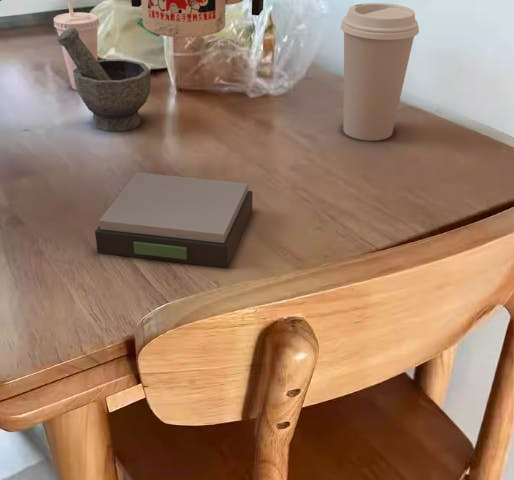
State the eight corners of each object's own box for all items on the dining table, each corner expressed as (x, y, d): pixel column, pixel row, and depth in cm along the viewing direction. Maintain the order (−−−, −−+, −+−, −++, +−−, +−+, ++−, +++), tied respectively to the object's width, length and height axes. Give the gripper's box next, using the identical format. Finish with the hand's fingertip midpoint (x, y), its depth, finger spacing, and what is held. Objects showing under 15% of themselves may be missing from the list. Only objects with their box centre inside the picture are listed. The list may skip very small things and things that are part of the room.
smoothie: (63, 80, 112) (49, -21, 103) (105, 78, 113) (95, -22, 104) (62, 94, 107) (47, -11, 98) (106, 92, 108) (95, -11, 99)
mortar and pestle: (154, 109, 102) (148, 18, 95) (152, 135, 95) (146, 38, 88) (73, 110, 102) (60, 18, 94) (65, 136, 94) (50, 38, 87)
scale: (96, 254, 71) (92, 223, 69) (136, 199, 80) (134, 170, 78) (226, 270, 69) (226, 238, 67) (252, 211, 79) (252, 181, 77)
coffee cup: (380, 115, 102) (395, -1, 93) (417, 139, 95) (437, 17, 86) (319, 123, 99) (328, 4, 90) (353, 149, 92) (366, 23, 83)
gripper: (336, -260, 64) (317, 7, 77) (72, -267, 67) (98, -8, 80) (328, -265, 58) (309, 25, 71) (39, -272, 61) (73, 8, 74)
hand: (197, 8), depth 76 cm, fingers closed on teacup with lid, 12 cm apart
